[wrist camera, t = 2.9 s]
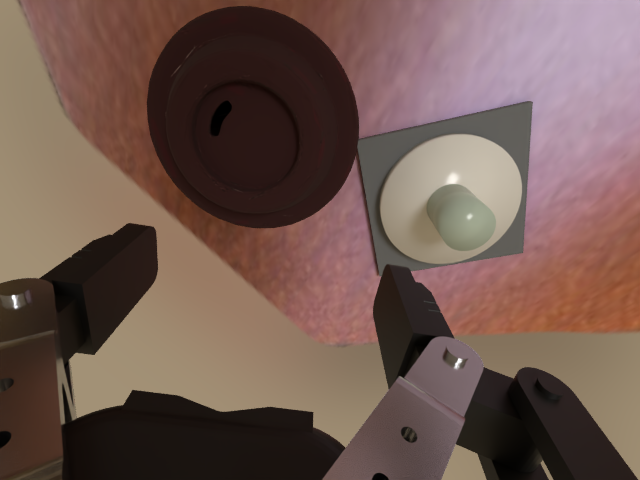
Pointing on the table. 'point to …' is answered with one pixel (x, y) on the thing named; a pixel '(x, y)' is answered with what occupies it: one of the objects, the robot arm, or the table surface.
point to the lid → (450, 198)
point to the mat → (385, 149)
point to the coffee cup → (253, 117)
